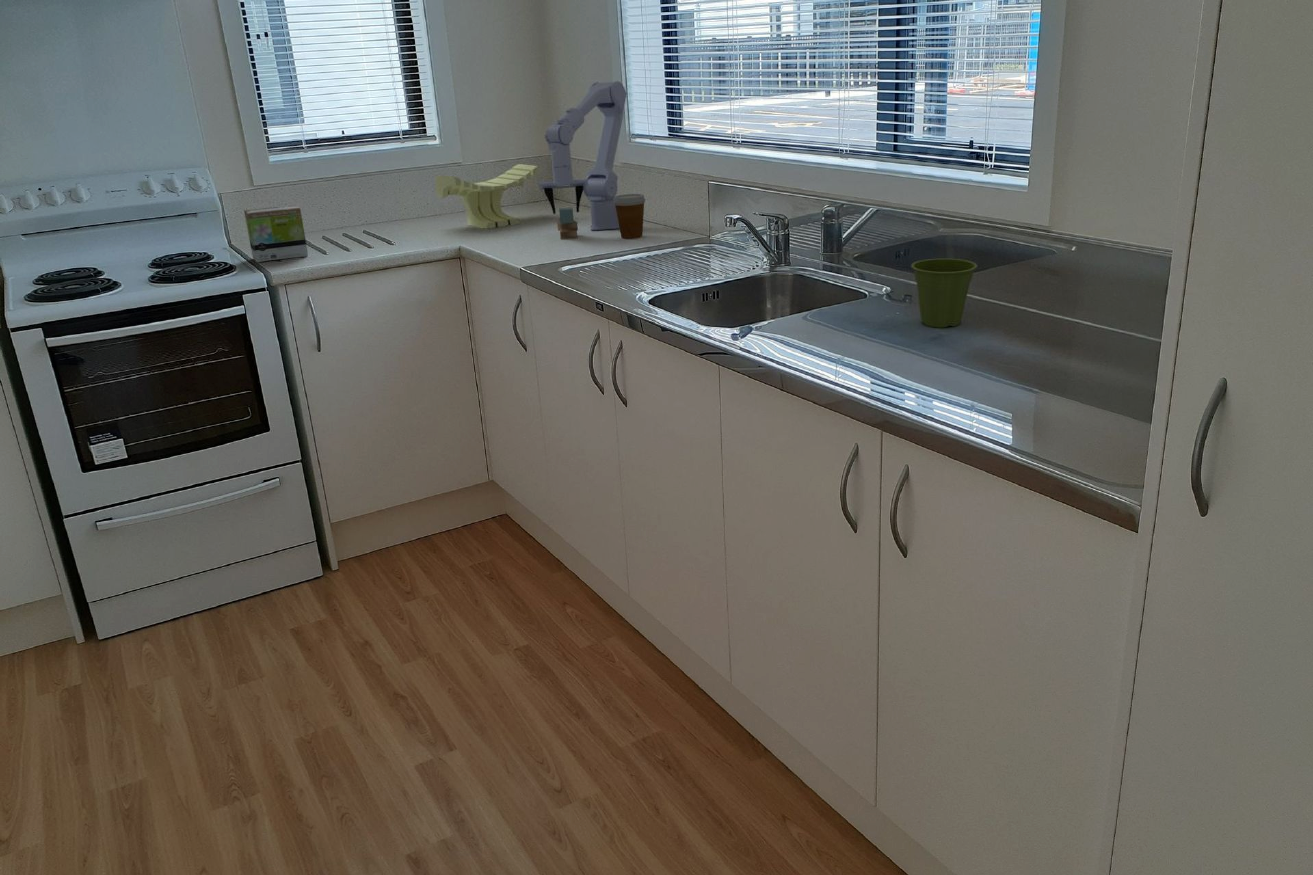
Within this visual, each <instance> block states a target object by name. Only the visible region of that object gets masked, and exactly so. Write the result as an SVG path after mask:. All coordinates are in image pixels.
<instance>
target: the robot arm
mask: <svg viewBox="0 0 1313 875" xmlns="http://www.w3.org/2000/svg"><path fill="white" fill-rule="evenodd" d="M624 86H625V85H624V84H623V83H622V82H621V81H619V80H618V81H611V82H610V81H609V82H608V81H606V82H599V81H598V82H597V81H596V82H594V83H592V85H590V86H589V87H588V90H587V93H586V95H585V96H584V97H583V99H582V100H581V101H580V102H579V104H578V105H577V106H576V107H571V108H567V109H566V110H565V113H564V114H563V115H562V116H561V117H560V118H558V119H557V120H556V122H555V123H553V124H550V125H549V126H548V127H547V128H546V130H545V135H544V139H545V141H546V143H547V145H548V149H549V151H550V157H551V166H552V167H551V168H552V179H553V181H544V182H543V181H542V182H538V183H539V184H538V187H539V191H544V195H545V196H546V198H547V200H548V202H549V205H550V207H551V210H552V214H553V215H556V211H557V210H556V206H555V197H554V189H567V188H568V189H570V188H574V190H575V200H576V203H575V204H576V205H575V206H576V213H580V204H581V198H582V195H583V193H584V195H585V197H586V198H587V201H589V208H590V218H591V219H590V220H591V224H590V230H591V231H602V230H603V231H604V230H616V229H617V230H618V229H620V228H619V223H618V218H617V212H616V207H615V205H614V203H613V201H614V198H615V196H617V192H618V178H619V176H618V175H617V174H616V173H615V172H614V170H613V167H614V163H615V158H616V153H617V148H618V143H619V138H620V133H621V128H622V124H623V118H624V110H625V109H624V108H625V105H626V99H627V94H628V93H627V91H626V89H625V87H624ZM595 107H597V109H598V110H599V111H600V113H602V114H603V115H604V121H603V125H602V130H601V134H600V140H599V145H598V149H597V156H596V160H595V164H594V166H593V167H592V168H590V170H589V171H588V172H587V175H586V178H585V179H573V169H572V156H571V145H570V144H571V143H572V141H574V140H573V139H574V135H575V133H576V132H577V130H579V129H580V128H581V126H582V125H583V124H584V123H585V117H586V116H587V115H588V114H589V113H590V112H591V111H592V110H594V109H595Z"/></svg>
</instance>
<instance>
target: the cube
mask: <svg viewBox="0 0 1313 875" xmlns="http://www.w3.org/2000/svg"><path fill="white" fill-rule="evenodd" d="M559 221H560V223H561V224H562V223H574V221H575V220H574V209H573V207H571V206H570V207H559Z"/></svg>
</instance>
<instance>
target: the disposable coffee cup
mask: <svg viewBox="0 0 1313 875" xmlns="http://www.w3.org/2000/svg"><path fill="white" fill-rule="evenodd" d="M613 203H614V205H615V207H616V212H617V218H618V223H619V228H618V229H619V232H620V236H621V237H620V238H621V239H624V240H634V239H639V238H642V237H643V228H644V211H645V203H646V199H645V195H644V194H642V193H627V194H620V195H615V197H614V201H613Z"/></svg>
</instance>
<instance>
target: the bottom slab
mask: <svg viewBox="0 0 1313 875" xmlns="http://www.w3.org/2000/svg"><path fill="white" fill-rule="evenodd" d="M559 233H560V234H559V235H560V240H568V239H570V238H571V239H578V230H576V231H568V232H561V231H559Z"/></svg>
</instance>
